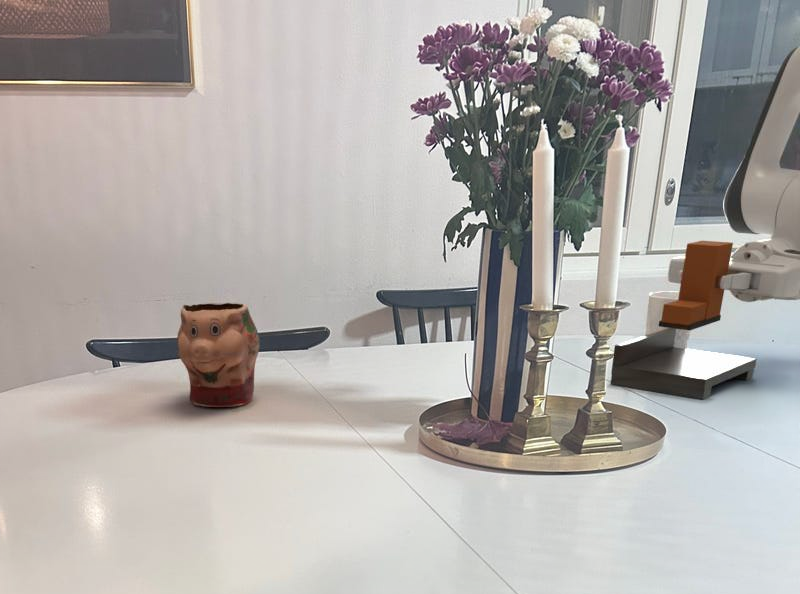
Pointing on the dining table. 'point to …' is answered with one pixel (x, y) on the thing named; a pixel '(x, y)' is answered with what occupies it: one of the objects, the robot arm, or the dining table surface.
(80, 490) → the dining table surface
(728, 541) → the dining table surface
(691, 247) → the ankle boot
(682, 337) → the white cup
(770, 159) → the robot arm
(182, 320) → the decorative planter
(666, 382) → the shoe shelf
